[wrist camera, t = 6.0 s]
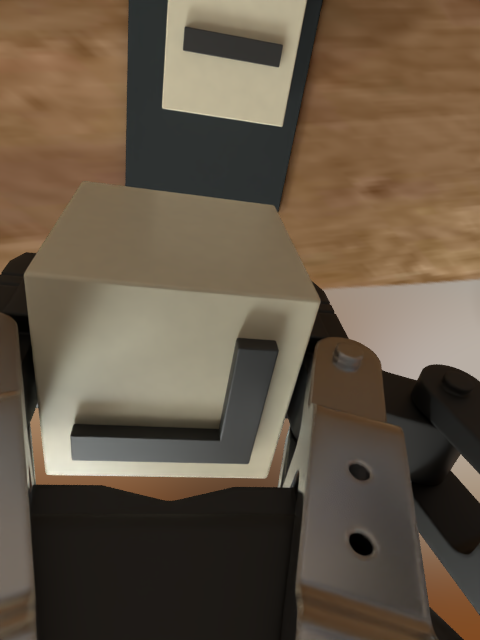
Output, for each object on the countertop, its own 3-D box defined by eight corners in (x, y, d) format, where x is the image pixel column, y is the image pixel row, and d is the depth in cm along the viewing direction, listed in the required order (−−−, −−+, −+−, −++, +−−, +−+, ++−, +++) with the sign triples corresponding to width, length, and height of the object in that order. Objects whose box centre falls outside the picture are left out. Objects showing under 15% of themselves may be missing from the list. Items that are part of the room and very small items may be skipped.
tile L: (82, 179, 10) (15, 282, 6) (274, 204, 11) (327, 310, 7) (86, 340, 13) (40, 489, 9) (243, 350, 14) (270, 491, 9)
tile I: (173, -35, 18) (170, -53, 14) (285, -12, 18) (313, -22, 14) (165, 92, 20) (161, 109, 16) (264, 108, 21) (284, 128, 17)
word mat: (134, -240, 15) (132, -246, 15) (357, -176, 16) (361, -181, 16) (125, 197, 23) (125, 200, 23) (275, 215, 24) (277, 217, 24)
